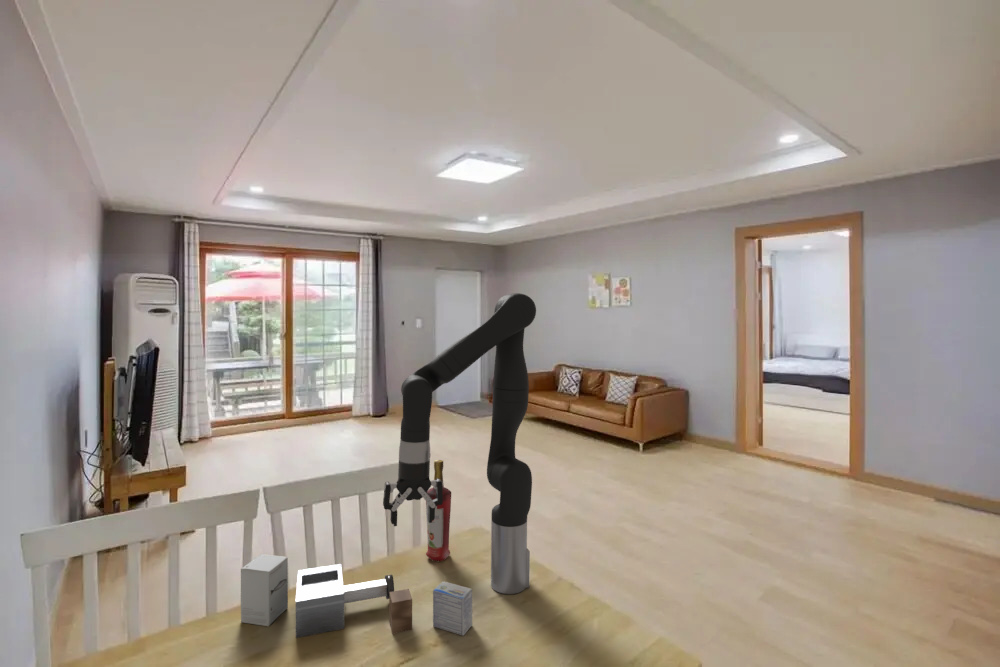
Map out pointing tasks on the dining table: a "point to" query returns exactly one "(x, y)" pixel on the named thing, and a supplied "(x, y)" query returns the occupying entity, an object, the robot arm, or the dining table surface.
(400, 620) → the block
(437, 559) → the liquor
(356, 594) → the shaft
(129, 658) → the dining table surface
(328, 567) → the grey hollow block
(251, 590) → the supplement box
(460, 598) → the medicine box
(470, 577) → the dining table surface
